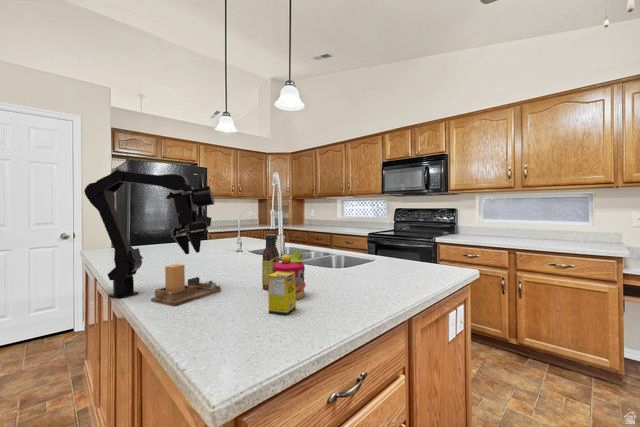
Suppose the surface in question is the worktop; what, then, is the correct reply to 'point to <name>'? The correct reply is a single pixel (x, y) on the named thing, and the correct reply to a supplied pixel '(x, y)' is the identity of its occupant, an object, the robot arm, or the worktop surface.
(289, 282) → the supplement box
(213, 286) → the bolt
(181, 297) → the housing
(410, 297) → the worktop surface
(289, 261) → the cake
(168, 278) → the block
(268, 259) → the sauce bottle
